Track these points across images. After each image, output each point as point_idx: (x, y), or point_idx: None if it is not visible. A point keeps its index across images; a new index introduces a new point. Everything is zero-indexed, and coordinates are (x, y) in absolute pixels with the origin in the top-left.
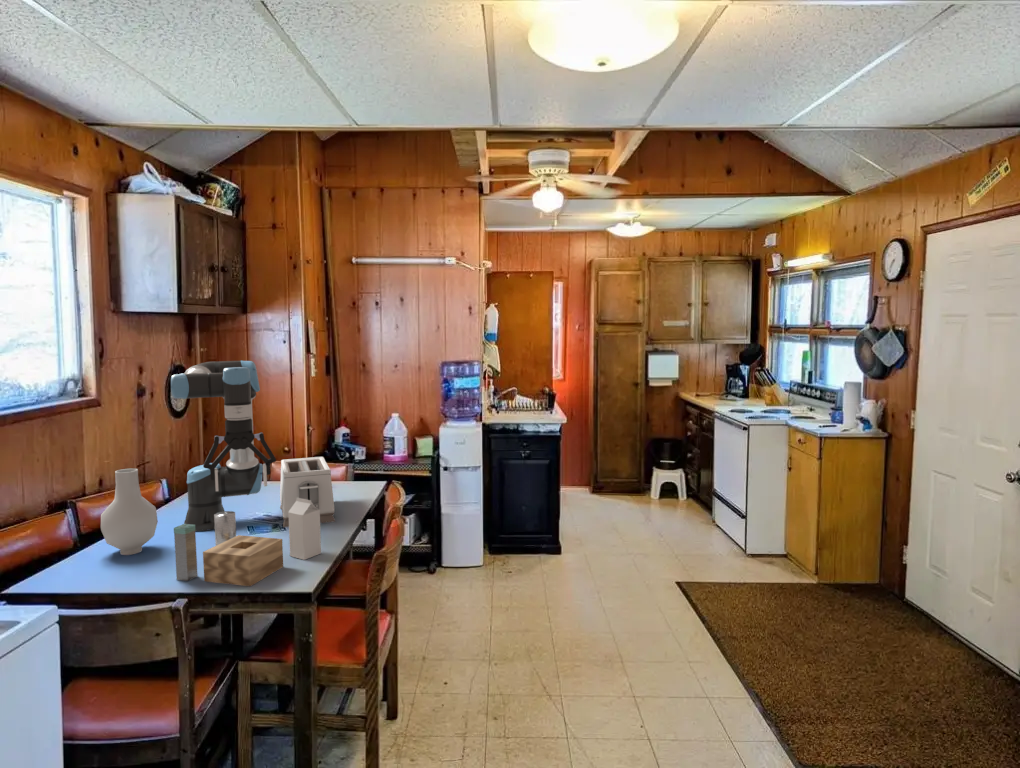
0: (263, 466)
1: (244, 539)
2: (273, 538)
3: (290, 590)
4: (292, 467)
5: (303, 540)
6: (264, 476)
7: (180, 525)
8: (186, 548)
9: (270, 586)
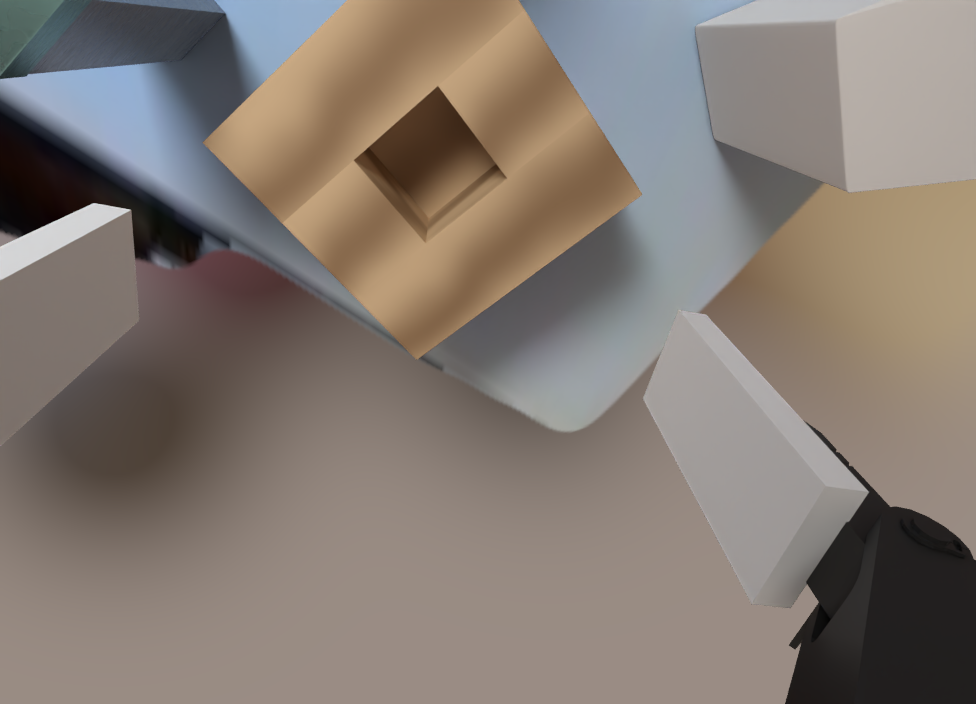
0: (759, 548)
1: (462, 48)
2: (609, 151)
3: (528, 410)
4: None
5: (759, 155)
6: (686, 475)
7: None
8: (91, 66)
9: (484, 341)
